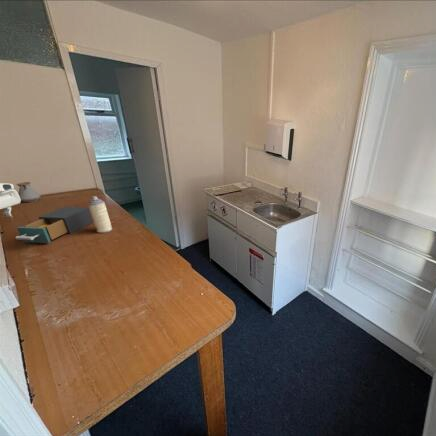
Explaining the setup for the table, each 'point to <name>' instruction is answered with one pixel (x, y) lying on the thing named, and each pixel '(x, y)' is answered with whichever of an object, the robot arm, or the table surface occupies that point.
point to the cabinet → (71, 217)
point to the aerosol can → (100, 215)
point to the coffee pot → (27, 192)
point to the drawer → (42, 230)
